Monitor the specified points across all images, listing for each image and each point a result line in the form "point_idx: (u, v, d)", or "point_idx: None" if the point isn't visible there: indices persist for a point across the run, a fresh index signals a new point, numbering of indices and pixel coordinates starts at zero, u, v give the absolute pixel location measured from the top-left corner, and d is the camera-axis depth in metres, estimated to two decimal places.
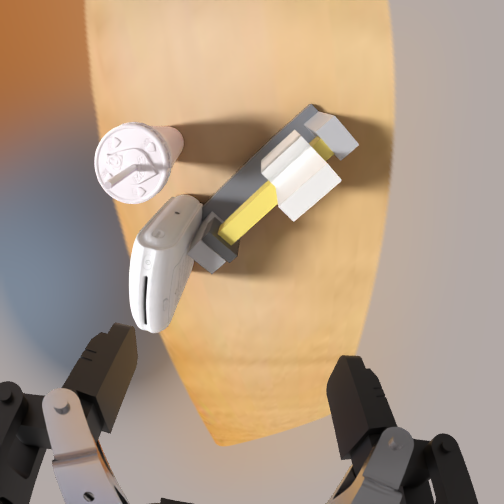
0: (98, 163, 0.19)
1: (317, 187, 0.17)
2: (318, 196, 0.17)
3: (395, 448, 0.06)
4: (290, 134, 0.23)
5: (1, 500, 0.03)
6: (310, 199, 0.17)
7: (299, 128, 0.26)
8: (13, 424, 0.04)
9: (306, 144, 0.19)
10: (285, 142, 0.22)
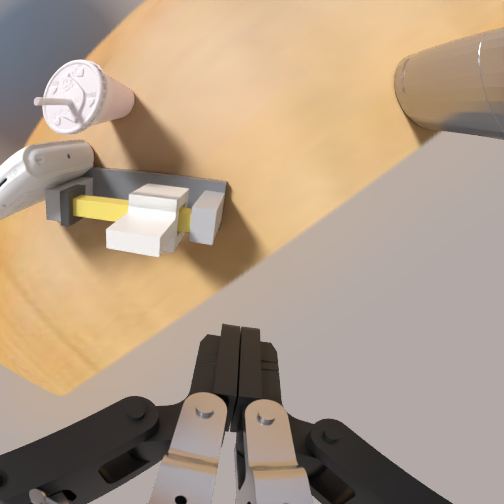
0: (59, 72, 0.16)
1: (139, 244, 0.18)
2: (135, 250, 0.18)
3: (259, 421, 0.07)
4: (182, 188, 0.25)
5: None
6: (128, 246, 0.18)
7: (200, 189, 0.28)
8: (128, 443, 0.05)
9: (174, 208, 0.21)
10: (170, 190, 0.23)
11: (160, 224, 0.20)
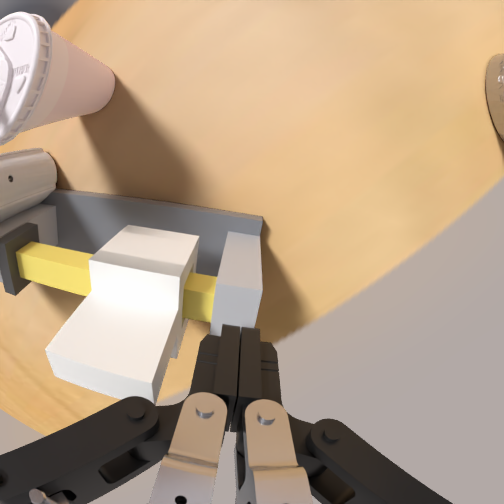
0: None
1: (112, 385, 0.08)
2: (106, 391, 0.08)
3: (259, 421, 0.07)
4: (187, 237, 0.14)
5: None
6: (92, 384, 0.08)
7: (219, 230, 0.18)
8: (128, 443, 0.05)
9: (175, 291, 0.11)
10: (166, 245, 0.13)
11: (150, 331, 0.10)
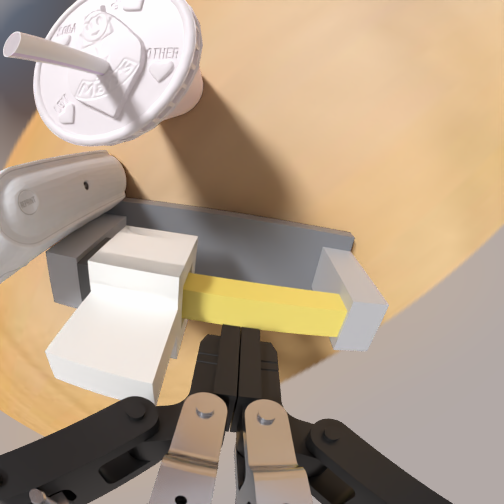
0: (78, 6, 0.06)
1: (112, 386, 0.08)
2: (107, 392, 0.08)
3: (259, 421, 0.07)
4: (185, 237, 0.14)
5: None
6: (93, 385, 0.08)
7: (315, 245, 0.19)
8: (128, 443, 0.05)
9: (174, 291, 0.11)
10: (165, 245, 0.13)
11: (150, 331, 0.10)
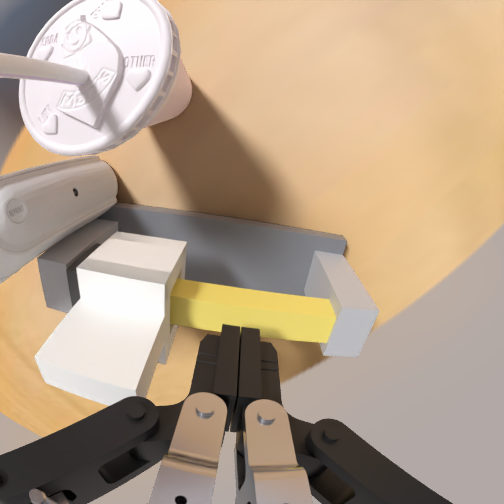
0: (60, 16, 0.05)
1: (98, 392, 0.08)
2: (93, 397, 0.08)
3: (259, 421, 0.07)
4: (174, 243, 0.14)
5: None
6: (80, 390, 0.08)
7: (306, 249, 0.18)
8: (128, 443, 0.05)
9: (160, 298, 0.11)
10: (153, 251, 0.13)
11: (135, 338, 0.10)
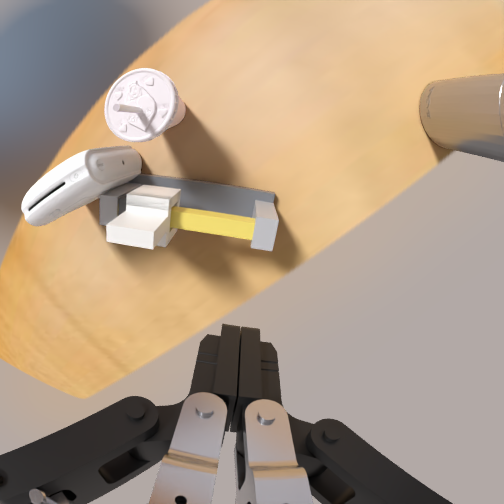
0: (124, 78, 0.18)
1: (136, 238, 0.21)
2: (132, 243, 0.21)
3: (260, 421, 0.07)
4: (174, 189, 0.27)
5: None
6: (126, 240, 0.21)
7: (250, 199, 0.31)
8: (128, 443, 0.05)
9: (166, 206, 0.24)
10: (163, 191, 0.26)
11: (154, 221, 0.22)
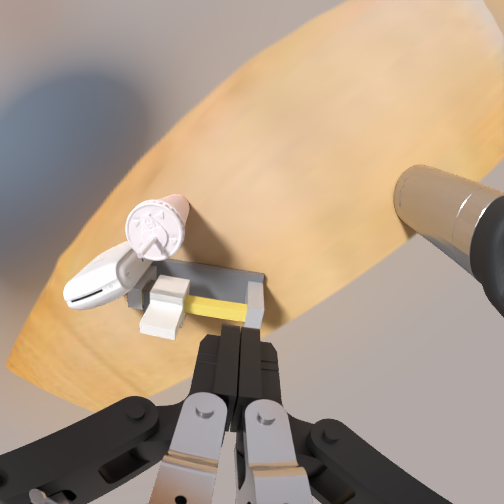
0: (139, 209, 0.27)
1: (162, 332, 0.29)
2: (159, 335, 0.29)
3: (259, 421, 0.07)
4: (185, 280, 0.36)
5: None
6: (155, 333, 0.29)
7: (244, 280, 0.40)
8: (128, 443, 0.05)
9: (181, 303, 0.32)
10: (177, 285, 0.34)
11: (173, 316, 0.31)
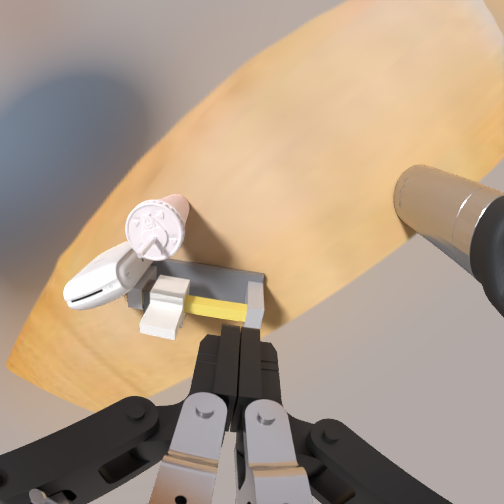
0: (139, 209, 0.27)
1: (162, 332, 0.29)
2: (159, 335, 0.29)
3: (259, 421, 0.07)
4: (185, 280, 0.36)
5: None
6: (155, 333, 0.29)
7: (244, 280, 0.40)
8: (128, 443, 0.05)
9: (181, 303, 0.32)
10: (177, 285, 0.34)
11: (173, 316, 0.31)
